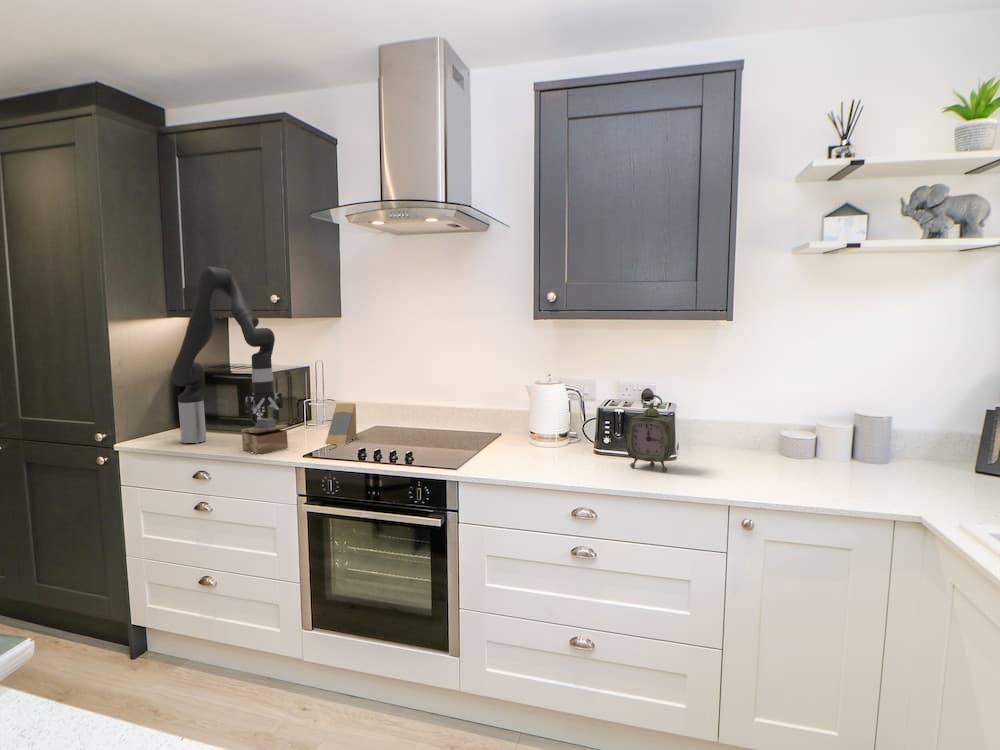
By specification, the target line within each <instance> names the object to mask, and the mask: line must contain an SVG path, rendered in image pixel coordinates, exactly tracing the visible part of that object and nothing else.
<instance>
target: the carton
mask: <svg viewBox="0 0 1000 750" xmlns="http://www.w3.org/2000/svg"><path fill="white" fill-rule="evenodd" d="M241 438H242V450H243V451H244V450H246V451H245V452H247V451H250V452H249V453H251V452H253V453H252V454H254V453H256V454H255V455H257V454H261V455H263V454H262V453H265V454H267V453H266V452H270V453H273V452H272V451H275V452H277V451H276V450H280V451H283V450H282V449H284V450H288V449H289V446H288V431H287V430H283V429H276V430H271V431H265V432H260V433H249V432H241ZM287 448H288V449H287Z"/></svg>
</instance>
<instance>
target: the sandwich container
mask: <svg viewBox="0 0 1000 750" xmlns="http://www.w3.org/2000/svg"><path fill="white" fill-rule="evenodd" d="M356 407H357V405H356V403H351V402H350V403H349V402H345V403H344V402H338V403H336V404H335V407H334V411H333V415H332V418H331V422H330V427H329V430H328V433H327V437H326V439H325V444H327V445H328V444H346V443H347V442H349V441H350V440H352V439H353V438H354V437H356V438H357V411H356V410H357V409H356ZM352 441H353V440H352ZM349 443H350V442H349ZM325 444H324V445H325ZM346 445H347V444H346Z"/></svg>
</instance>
